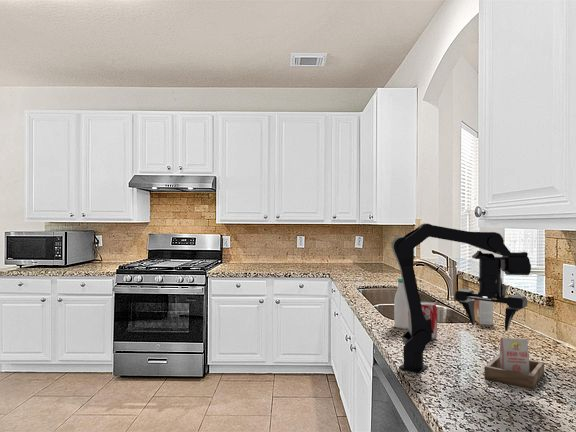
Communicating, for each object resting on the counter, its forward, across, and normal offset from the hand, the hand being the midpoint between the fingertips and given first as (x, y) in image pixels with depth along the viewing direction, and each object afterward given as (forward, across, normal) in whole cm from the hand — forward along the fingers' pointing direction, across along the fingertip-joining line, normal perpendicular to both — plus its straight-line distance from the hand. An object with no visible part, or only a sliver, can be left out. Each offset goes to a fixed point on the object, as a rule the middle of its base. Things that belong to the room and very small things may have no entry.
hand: (489, 327), depth 127 cm
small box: (+12, +20, -59) cm, 64 cm away
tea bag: (+12, -7, +1) cm, 14 cm away
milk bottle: (+13, +43, -31) cm, 54 cm away
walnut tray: (+12, -7, +1) cm, 14 cm away
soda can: (+13, +28, -22) cm, 38 cm away
